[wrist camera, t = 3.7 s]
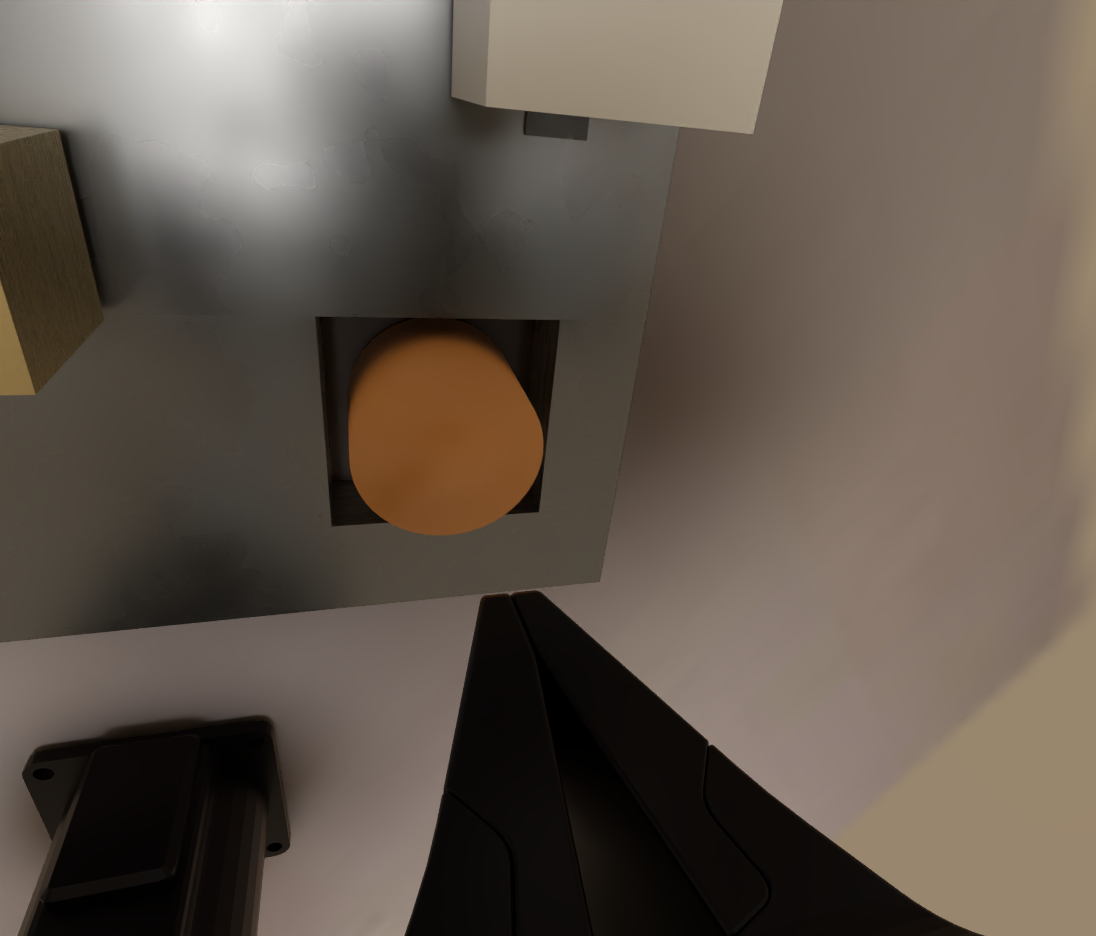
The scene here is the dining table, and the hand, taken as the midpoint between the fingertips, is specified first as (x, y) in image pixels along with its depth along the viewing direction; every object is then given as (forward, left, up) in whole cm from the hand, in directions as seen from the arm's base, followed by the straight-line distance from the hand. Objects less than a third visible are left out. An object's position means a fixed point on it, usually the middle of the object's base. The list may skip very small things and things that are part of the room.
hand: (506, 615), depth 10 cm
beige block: (+8, -2, -6) cm, 10 cm away
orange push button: (0, 0, -8) cm, 8 cm away
